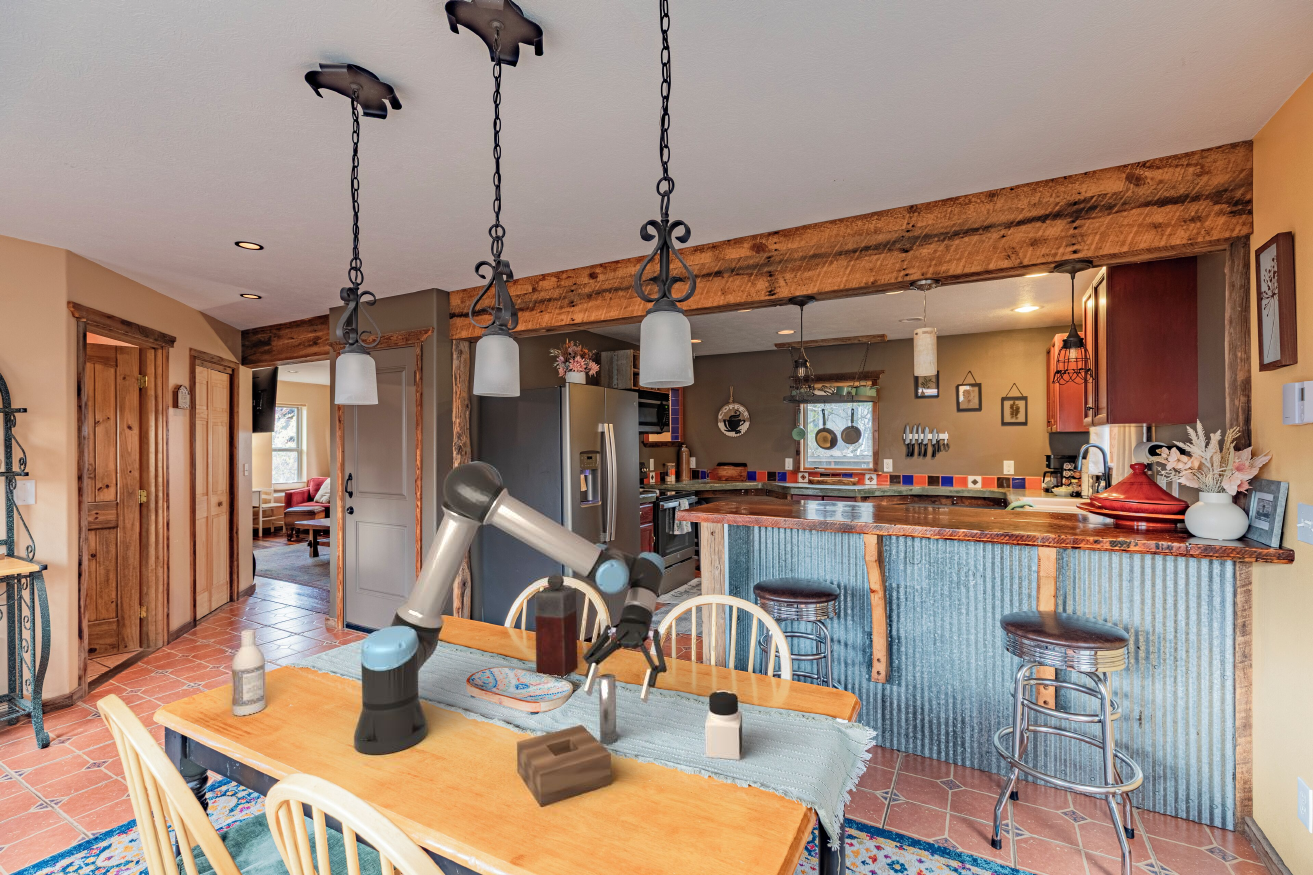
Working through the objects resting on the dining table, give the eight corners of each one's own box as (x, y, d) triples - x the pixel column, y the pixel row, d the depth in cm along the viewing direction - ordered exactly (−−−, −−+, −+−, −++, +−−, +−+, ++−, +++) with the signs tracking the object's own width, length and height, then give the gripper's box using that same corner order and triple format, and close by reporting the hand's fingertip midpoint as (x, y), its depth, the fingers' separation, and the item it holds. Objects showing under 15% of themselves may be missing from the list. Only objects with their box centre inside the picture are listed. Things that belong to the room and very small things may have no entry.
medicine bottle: (740, 760, 126) (739, 702, 126) (705, 758, 127) (704, 699, 127) (742, 744, 133) (741, 688, 133) (709, 741, 134) (708, 686, 134)
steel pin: (597, 739, 136) (596, 675, 136) (612, 735, 138) (611, 672, 138) (604, 746, 133) (603, 681, 133) (619, 741, 135) (618, 677, 135)
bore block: (517, 771, 123) (516, 741, 123) (582, 753, 130) (581, 724, 130) (540, 807, 111) (540, 773, 111) (611, 784, 118) (610, 753, 118)
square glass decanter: (581, 664, 182) (579, 569, 182) (564, 678, 172) (562, 577, 172) (554, 661, 185) (552, 568, 185) (535, 675, 174) (534, 576, 174)
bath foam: (236, 707, 156) (234, 628, 156) (268, 702, 159) (266, 625, 159) (229, 719, 150) (228, 636, 150) (262, 713, 153) (261, 632, 153)
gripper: (690, 623, 149) (672, 711, 135) (597, 615, 158) (570, 697, 144) (683, 606, 144) (663, 696, 130) (587, 599, 153) (559, 683, 139)
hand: (615, 697), depth 137 cm, fingers open, 13 cm apart
